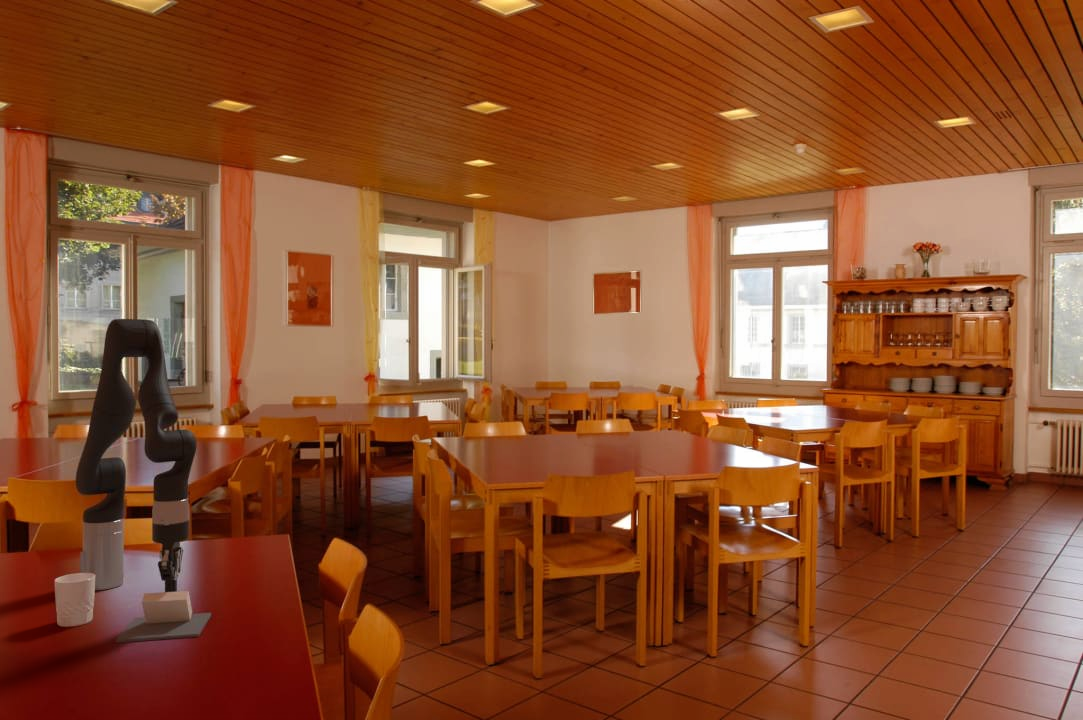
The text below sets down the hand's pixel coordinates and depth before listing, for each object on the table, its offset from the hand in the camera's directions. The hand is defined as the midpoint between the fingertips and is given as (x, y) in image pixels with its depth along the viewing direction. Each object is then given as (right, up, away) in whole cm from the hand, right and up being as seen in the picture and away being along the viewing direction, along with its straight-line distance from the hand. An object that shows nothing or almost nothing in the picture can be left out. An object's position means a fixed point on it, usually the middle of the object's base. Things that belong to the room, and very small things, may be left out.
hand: (171, 596), depth 172 cm
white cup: (-22, -6, +1) cm, 23 cm away
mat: (0, -6, -3) cm, 7 cm away
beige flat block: (0, -5, 0) cm, 5 cm away
